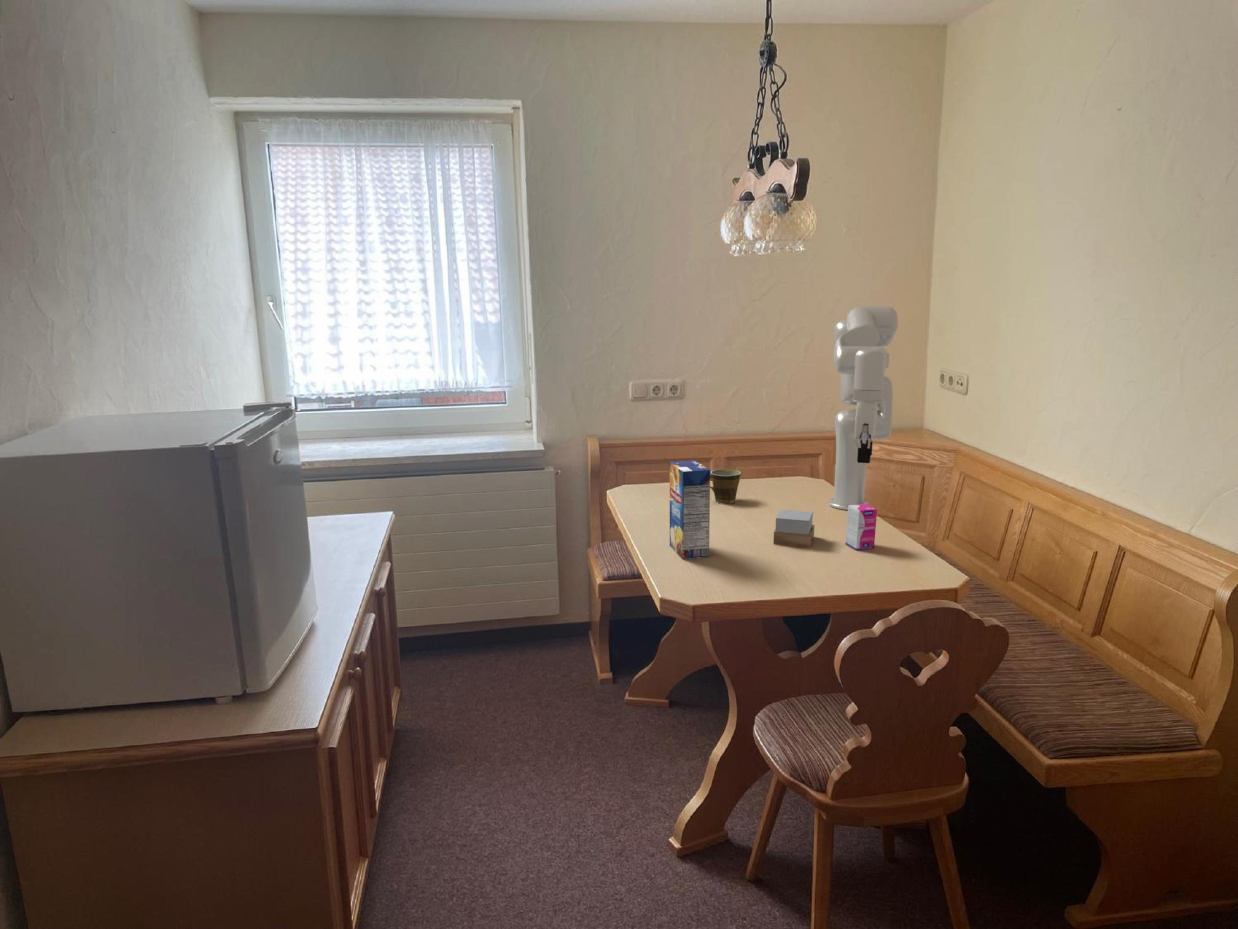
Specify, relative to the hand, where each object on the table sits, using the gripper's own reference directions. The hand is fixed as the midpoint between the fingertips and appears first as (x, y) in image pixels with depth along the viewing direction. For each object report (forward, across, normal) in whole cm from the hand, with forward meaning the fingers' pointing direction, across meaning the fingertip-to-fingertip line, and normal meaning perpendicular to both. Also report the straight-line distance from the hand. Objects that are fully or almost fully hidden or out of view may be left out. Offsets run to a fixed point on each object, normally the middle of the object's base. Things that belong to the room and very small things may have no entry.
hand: (864, 459), depth 215 cm
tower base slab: (+25, 0, -18) cm, 31 cm away
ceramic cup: (+24, -35, -47) cm, 64 cm away
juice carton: (+25, +18, -44) cm, 54 cm away
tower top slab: (+21, 0, -18) cm, 28 cm away
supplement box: (+25, 0, 0) cm, 25 cm away
